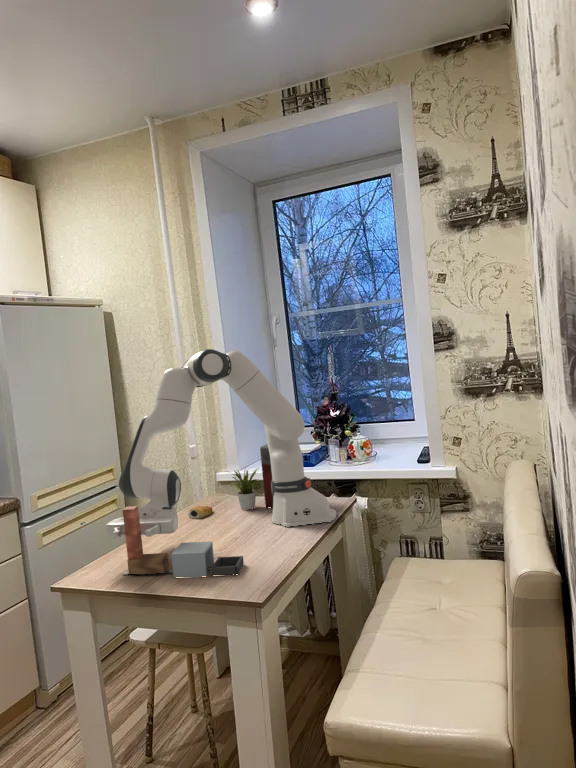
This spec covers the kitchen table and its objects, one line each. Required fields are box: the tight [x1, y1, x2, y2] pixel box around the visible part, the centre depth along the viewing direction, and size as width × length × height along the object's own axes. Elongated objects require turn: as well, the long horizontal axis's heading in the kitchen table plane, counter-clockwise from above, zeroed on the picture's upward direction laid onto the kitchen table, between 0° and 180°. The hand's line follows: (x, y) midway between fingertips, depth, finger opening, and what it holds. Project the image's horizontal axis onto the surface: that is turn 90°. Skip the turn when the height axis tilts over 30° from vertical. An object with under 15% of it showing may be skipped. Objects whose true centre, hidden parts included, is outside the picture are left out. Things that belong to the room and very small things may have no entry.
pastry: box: [187, 505, 214, 519], centre depth 222 cm, size 9×7×4 cm
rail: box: [122, 568, 212, 576], centre depth 166 cm, size 26×1×1 cm, turn 82°
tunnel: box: [170, 540, 215, 579], centre depth 165 cm, size 9×9×7 cm
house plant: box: [224, 466, 260, 511], centre depth 225 cm, size 14×14×16 cm
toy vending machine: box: [259, 443, 273, 509], centre depth 225 cm, size 9×11×28 cm
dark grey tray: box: [210, 555, 245, 577], centre depth 164 cm, size 7×8×2 cm
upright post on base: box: [122, 505, 170, 576], centre depth 166 cm, size 10×4×18 cm, turn 82°
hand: (131, 534), depth 166 cm, fingers open, 8 cm apart
